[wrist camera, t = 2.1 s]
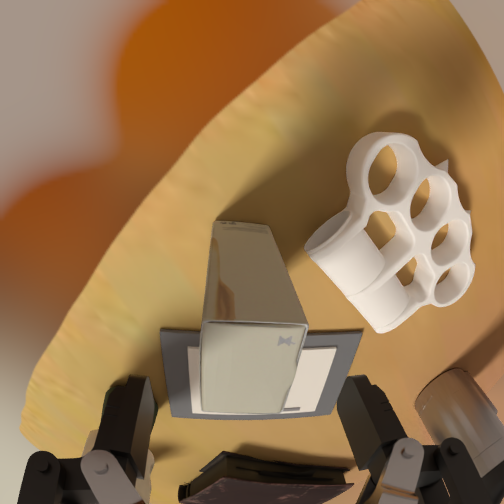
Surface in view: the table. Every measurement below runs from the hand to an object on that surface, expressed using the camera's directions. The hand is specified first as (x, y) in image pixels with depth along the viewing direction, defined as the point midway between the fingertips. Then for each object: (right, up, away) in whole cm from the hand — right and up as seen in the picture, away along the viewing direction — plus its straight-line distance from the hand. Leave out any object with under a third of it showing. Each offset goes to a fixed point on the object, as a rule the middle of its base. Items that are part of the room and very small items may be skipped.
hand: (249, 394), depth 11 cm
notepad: (+1, -8, +18) cm, 19 cm away
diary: (+2, -34, +29) cm, 45 cm away
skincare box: (-1, +5, +13) cm, 14 cm away
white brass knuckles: (+13, +7, +13) cm, 20 cm away
